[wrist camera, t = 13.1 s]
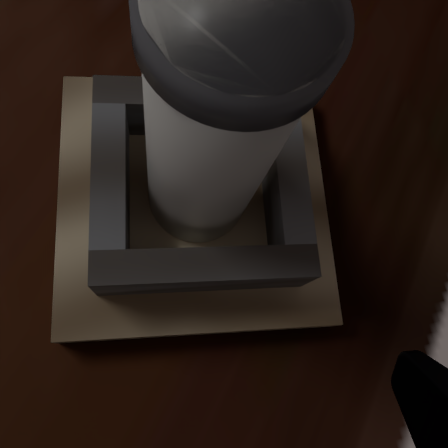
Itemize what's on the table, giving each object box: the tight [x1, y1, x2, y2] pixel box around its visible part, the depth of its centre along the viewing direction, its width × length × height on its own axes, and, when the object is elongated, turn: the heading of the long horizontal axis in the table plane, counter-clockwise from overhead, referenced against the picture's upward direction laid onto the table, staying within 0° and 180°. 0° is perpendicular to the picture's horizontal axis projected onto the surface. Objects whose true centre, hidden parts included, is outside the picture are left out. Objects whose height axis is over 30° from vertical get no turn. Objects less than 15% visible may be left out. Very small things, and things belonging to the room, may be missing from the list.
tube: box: [129, 0, 354, 243], centre depth 16 cm, size 5×5×13 cm
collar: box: [51, 75, 343, 343], centre depth 22 cm, size 14×14×4 cm
